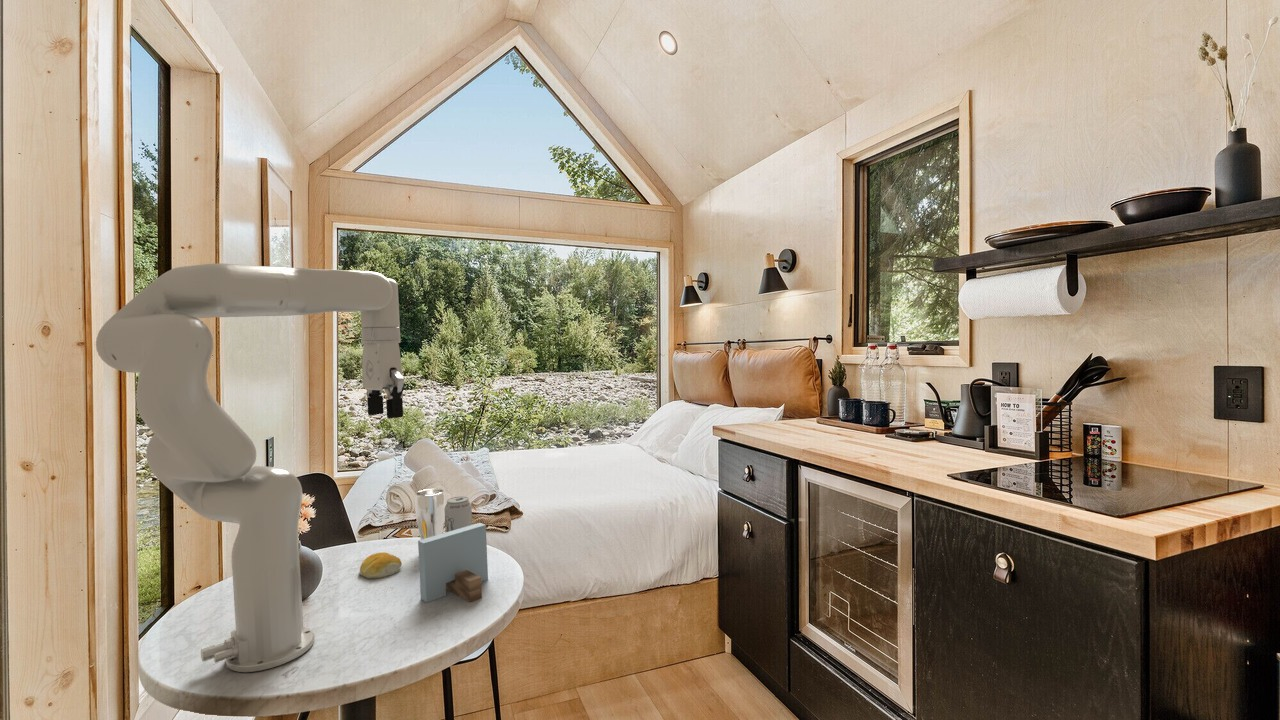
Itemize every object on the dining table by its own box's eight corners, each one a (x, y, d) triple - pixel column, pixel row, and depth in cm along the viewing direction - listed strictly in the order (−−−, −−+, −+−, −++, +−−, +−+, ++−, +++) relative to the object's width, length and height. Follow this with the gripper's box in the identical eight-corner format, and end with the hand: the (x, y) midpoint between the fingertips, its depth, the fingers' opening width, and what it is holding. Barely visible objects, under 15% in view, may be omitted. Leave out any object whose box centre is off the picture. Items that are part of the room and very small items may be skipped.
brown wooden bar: (481, 597, 115) (481, 576, 115) (470, 602, 113) (469, 581, 113) (442, 576, 126) (442, 557, 126) (431, 580, 124) (430, 561, 124)
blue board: (426, 602, 114) (423, 543, 113) (420, 599, 115) (418, 540, 115) (488, 579, 124) (485, 524, 124) (482, 576, 126) (479, 522, 125)
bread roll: (387, 561, 137) (387, 545, 137) (407, 570, 131) (406, 553, 131) (352, 573, 130) (351, 556, 130) (371, 583, 125) (370, 565, 125)
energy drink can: (441, 564, 133) (438, 500, 133) (463, 555, 138) (460, 494, 138) (457, 569, 130) (454, 504, 129) (479, 561, 134) (476, 498, 134)
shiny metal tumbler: (428, 559, 136) (425, 497, 136) (411, 553, 141) (408, 493, 140) (453, 550, 142) (450, 490, 141) (436, 544, 146) (434, 487, 146)
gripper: (347, 337, 125) (351, 415, 126) (380, 335, 114) (384, 421, 114) (382, 337, 131) (385, 411, 132) (416, 335, 119) (420, 416, 120)
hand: (385, 416), depth 123 cm, fingers open, 9 cm apart
